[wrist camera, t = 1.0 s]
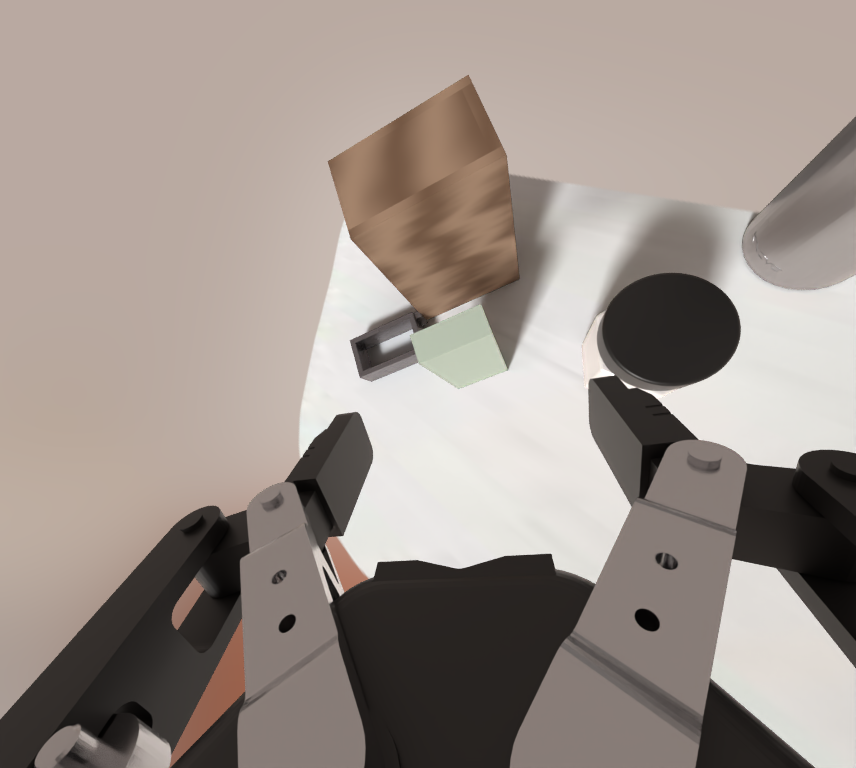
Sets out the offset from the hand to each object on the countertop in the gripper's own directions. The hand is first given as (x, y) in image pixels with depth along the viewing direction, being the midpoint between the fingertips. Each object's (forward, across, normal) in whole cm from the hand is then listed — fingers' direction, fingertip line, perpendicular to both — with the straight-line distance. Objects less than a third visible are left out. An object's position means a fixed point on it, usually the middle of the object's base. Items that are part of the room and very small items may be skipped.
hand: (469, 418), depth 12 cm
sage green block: (+26, 0, +10) cm, 27 cm away
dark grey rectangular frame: (+29, +10, +7) cm, 31 cm away
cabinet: (+33, +1, 0) cm, 33 cm away
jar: (+23, -14, +11) cm, 29 cm away
